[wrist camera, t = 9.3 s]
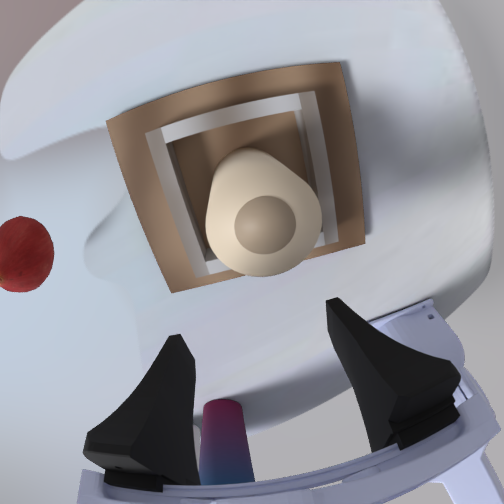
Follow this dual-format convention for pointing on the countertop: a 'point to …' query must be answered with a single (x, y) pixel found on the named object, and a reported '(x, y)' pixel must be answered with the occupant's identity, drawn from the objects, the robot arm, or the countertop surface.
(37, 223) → the red round fruit
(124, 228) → the countertop surface
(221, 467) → the cup
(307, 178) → the holder
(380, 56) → the countertop surface
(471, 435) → the robot arm
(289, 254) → the roll
